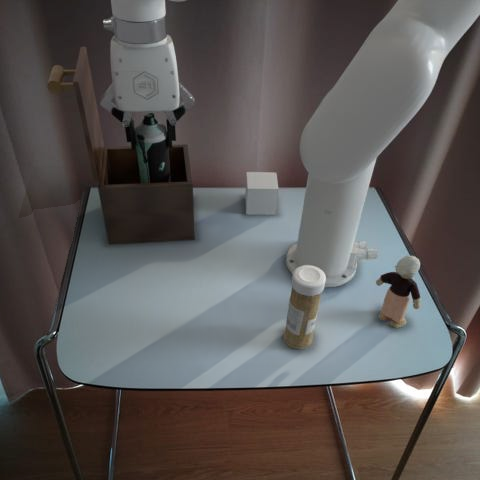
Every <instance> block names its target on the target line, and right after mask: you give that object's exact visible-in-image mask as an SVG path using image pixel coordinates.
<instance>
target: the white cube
mask: <svg viewBox="0 0 480 480" xmlns="http://www.w3.org/2000/svg"><path fill="white" fill-rule="evenodd" d="M245 180H246V181H245V193H244V201H245V215H251V216H253V215H255V216H256V215H257V216H258V215H259V216H277V207H278V199H279V190H280V189H279V181H278V174H277V172H274V171H273V172H272V171H271V172H270V171H269V172H268V171H246V174H245Z"/></svg>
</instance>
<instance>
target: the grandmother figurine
mask: <svg viewBox="0 0 480 480" xmlns="http://www.w3.org/2000/svg"><path fill="white" fill-rule="evenodd" d="M420 267H421V261H420V259H419V258H418V257H416V256H415V255H406V256H403V257H402V258H400V259H399V260H398V262H397V263H396V264H395V265H394V268H395V271H389V272H386V273H383V274H381V275H380V277H379V278H378V279H377V280H376V281H375V284H376V286H378V287H381V286H383V284H388V285H390V286H389V287H388V289H387V292H386V294H385V296H384V299H383V303H382V306H381V311H380V312H379V314H378V320H380V321H382V322H388V321H389V320H390V319H392V320H391V321H390V323H389V324H390V326H391V327H392V328H395V329H400V328H402V327H405V326H406V325H407V319H406V318H405V316H406V312H407V308H408V306H409V303H410V296H411V299H412V307H413V309H415V310H419V309H420V308H421V304H420V303H421V294H420V290H419V287H418V284H417V282H416V281H415V280H414V279H413V278H414V277H416V276H417V274H418V273H419V271H420V269H421V268H420Z"/></svg>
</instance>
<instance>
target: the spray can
mask: <svg viewBox="0 0 480 480" xmlns="http://www.w3.org/2000/svg"><path fill="white" fill-rule="evenodd" d="M134 128H135V141H136V149H137V156H138V164H139V172H140V180H141V184H142V183H167V182H171V175H170V162H169V149H168V136H167V125H165V124H164V123H162V122H159V121H158V119H156V118H155V113H154V112H148V113H146V114H143V119H142V121H141V122H140V123H139V124H137V125H136V126H134Z"/></svg>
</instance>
